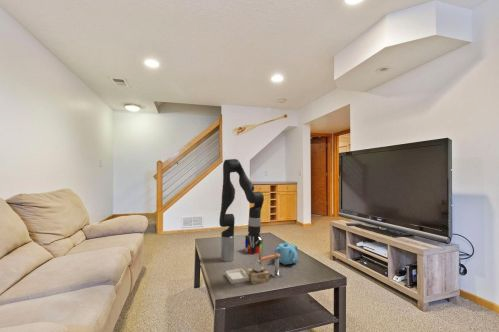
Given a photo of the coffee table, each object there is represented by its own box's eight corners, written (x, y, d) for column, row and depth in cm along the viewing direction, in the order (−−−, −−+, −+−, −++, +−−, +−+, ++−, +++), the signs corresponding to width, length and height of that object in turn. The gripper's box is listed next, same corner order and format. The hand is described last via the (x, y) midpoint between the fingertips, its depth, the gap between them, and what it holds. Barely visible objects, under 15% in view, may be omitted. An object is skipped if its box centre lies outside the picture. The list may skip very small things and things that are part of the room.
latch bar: (257, 259, 137) (257, 244, 137) (277, 254, 146) (277, 240, 146) (261, 262, 134) (261, 246, 134) (281, 256, 142) (281, 241, 143)
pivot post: (270, 274, 144) (270, 256, 145) (278, 272, 147) (278, 255, 147) (274, 278, 139) (274, 259, 139) (283, 276, 141) (283, 258, 141)
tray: (225, 274, 143) (225, 271, 143) (242, 272, 147) (242, 268, 147) (231, 284, 131) (231, 280, 131) (249, 281, 135) (249, 276, 135)
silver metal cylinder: (253, 278, 139) (253, 259, 139) (259, 276, 141) (259, 258, 141) (255, 281, 135) (255, 262, 135) (262, 280, 137) (262, 261, 137)
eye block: (247, 276, 141) (247, 268, 141) (261, 274, 144) (261, 266, 144) (253, 284, 131) (253, 275, 131) (269, 281, 135) (269, 272, 135)
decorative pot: (271, 263, 162) (271, 244, 162) (279, 256, 176) (279, 238, 176) (293, 268, 154) (293, 248, 154) (300, 260, 168) (300, 241, 168)
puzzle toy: (245, 251, 188) (245, 238, 188) (254, 248, 194) (254, 236, 194) (252, 254, 180) (252, 241, 180) (262, 251, 186) (262, 239, 186)
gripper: (242, 223, 142) (241, 251, 141) (258, 227, 132) (257, 257, 132) (250, 221, 147) (249, 249, 146) (266, 225, 138) (265, 254, 137)
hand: (253, 253), depth 139 cm, fingers closed
